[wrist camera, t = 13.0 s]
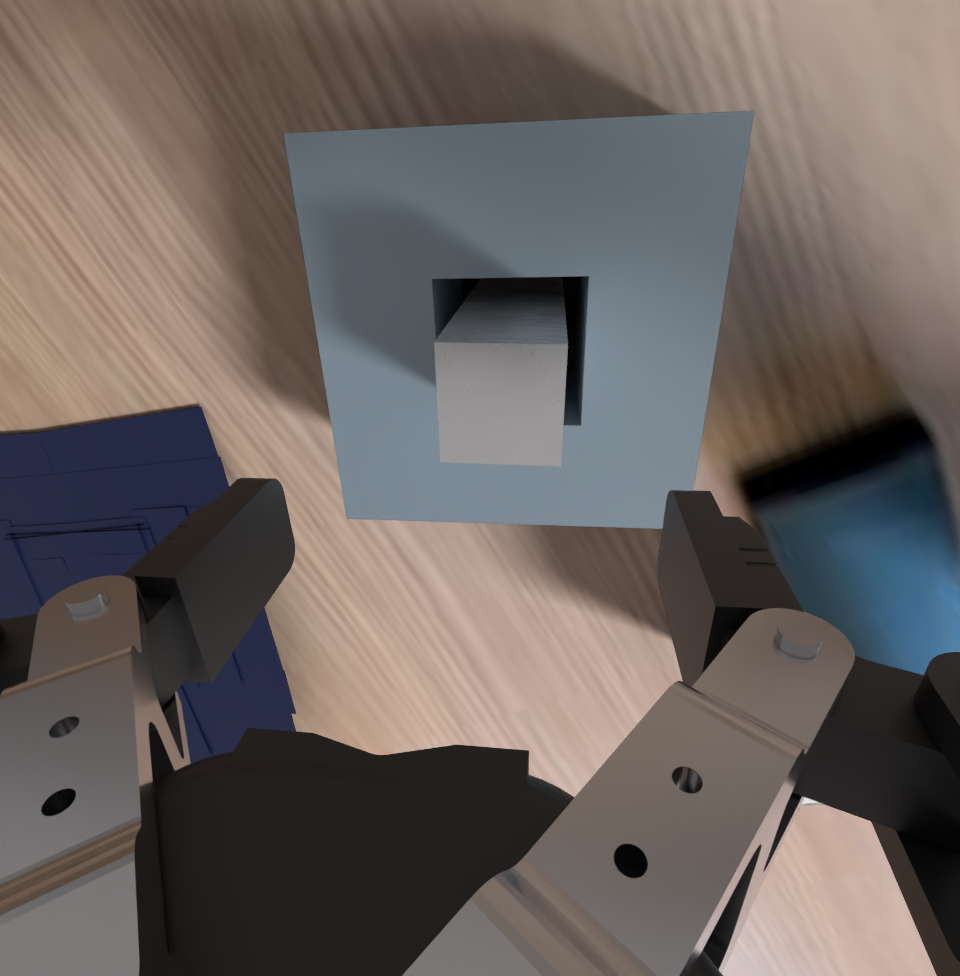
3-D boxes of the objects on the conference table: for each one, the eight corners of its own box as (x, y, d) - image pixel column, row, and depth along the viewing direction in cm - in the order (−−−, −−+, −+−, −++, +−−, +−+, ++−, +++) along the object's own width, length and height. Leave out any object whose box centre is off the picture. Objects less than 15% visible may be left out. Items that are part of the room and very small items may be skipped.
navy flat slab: (77, 753, 52) (44, 787, 48) (-78, 431, 41) (-135, 446, 38) (331, 753, 48) (314, 790, 44) (229, 396, 37) (196, 409, 34)
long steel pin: (561, 274, 29) (568, 344, 17) (558, 353, 31) (561, 466, 19) (483, 274, 30) (434, 342, 17) (484, 351, 31) (440, 461, 19)
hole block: (699, 129, 26) (754, 110, 19) (658, 455, 33) (686, 529, 26) (352, 145, 27) (283, 133, 20) (388, 450, 35) (346, 518, 28)
